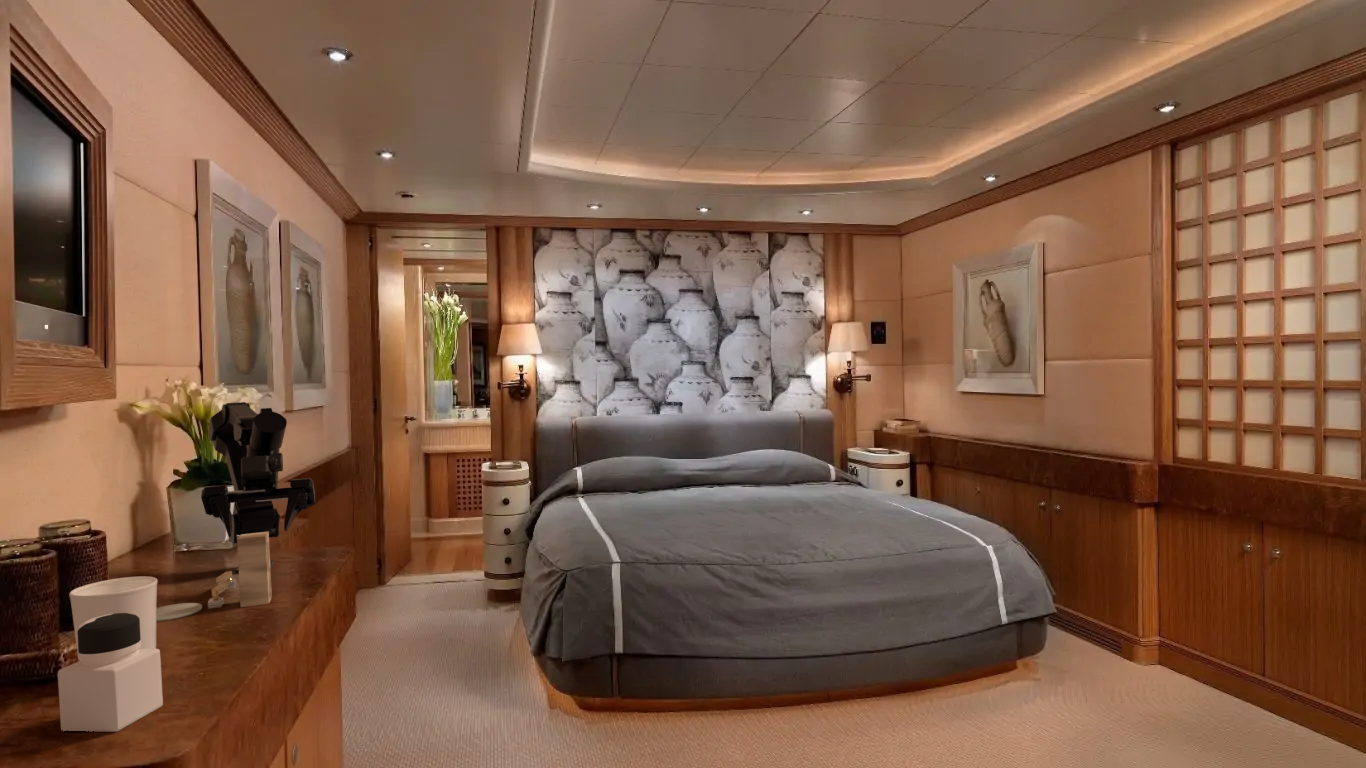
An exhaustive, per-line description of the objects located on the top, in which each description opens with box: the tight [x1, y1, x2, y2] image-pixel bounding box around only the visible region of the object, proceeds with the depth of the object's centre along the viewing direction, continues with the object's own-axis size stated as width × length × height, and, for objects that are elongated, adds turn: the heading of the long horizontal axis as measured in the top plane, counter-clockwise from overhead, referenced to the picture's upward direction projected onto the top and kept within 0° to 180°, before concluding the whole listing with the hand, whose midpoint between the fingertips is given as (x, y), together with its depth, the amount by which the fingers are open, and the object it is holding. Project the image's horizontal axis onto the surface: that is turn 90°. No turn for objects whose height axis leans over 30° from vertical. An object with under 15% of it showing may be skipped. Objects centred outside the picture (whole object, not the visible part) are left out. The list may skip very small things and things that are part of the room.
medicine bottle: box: [57, 613, 164, 733], centre depth 93 cm, size 7×7×12 cm
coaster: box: [156, 602, 203, 622], centre depth 137 cm, size 9×9×1 cm
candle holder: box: [68, 575, 158, 662], centre depth 109 cm, size 10×10×12 cm
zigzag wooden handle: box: [207, 570, 237, 610], centre depth 147 cm, size 16×3×3 cm, turn 21°
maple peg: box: [236, 531, 273, 608], centre depth 141 cm, size 4×4×12 cm
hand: (257, 532), depth 146 cm, fingers open, 9 cm apart
